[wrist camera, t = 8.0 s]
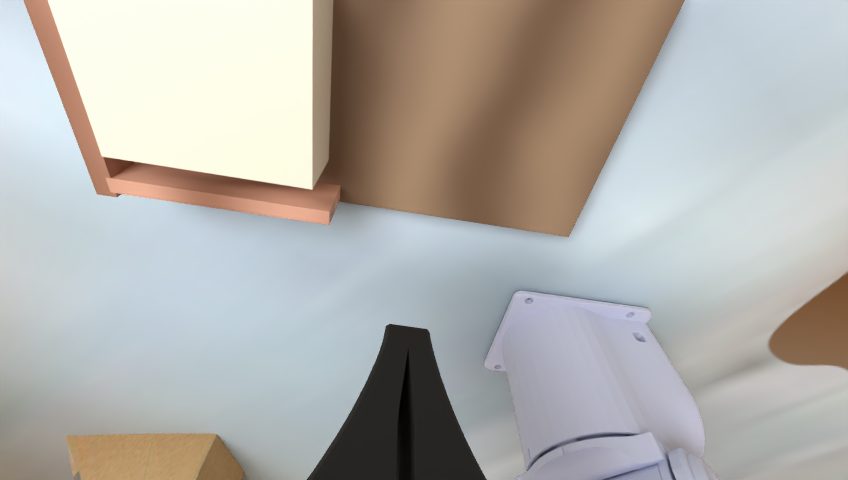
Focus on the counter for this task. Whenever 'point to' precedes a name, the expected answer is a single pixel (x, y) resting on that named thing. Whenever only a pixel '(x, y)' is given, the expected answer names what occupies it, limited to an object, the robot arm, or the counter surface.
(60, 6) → the carton
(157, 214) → the counter surface
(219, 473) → the sandwich container
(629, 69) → the open-sided wooden box
